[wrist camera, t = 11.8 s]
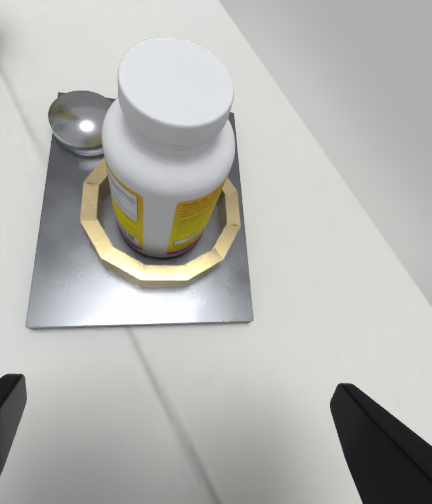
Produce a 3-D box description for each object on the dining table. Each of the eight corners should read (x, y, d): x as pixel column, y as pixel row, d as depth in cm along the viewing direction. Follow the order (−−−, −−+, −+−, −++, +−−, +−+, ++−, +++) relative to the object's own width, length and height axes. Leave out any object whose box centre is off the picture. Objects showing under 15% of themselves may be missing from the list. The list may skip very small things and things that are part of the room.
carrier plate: (249, 322, 24) (262, 316, 21) (30, 329, 21) (13, 322, 18) (231, 120, 31) (239, 95, 28) (61, 101, 27) (52, 71, 25)
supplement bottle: (211, 194, 26) (268, 50, 14) (195, 269, 24) (248, 170, 12) (129, 171, 25) (119, -2, 14) (103, 247, 23) (63, 116, 11)
